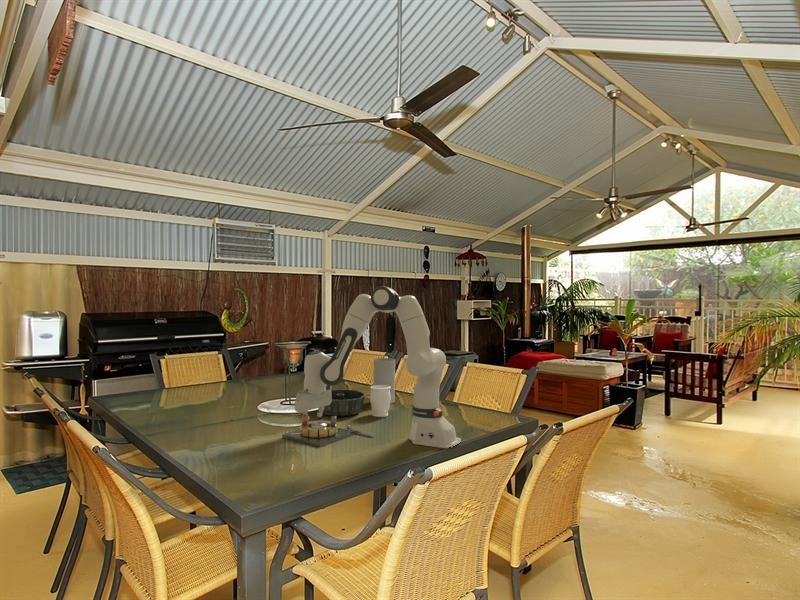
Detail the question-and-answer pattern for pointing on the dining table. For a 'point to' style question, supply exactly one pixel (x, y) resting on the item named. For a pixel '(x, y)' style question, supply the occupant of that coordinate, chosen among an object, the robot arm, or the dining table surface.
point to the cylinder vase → (385, 374)
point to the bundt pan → (345, 403)
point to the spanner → (360, 432)
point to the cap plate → (318, 441)
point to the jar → (380, 400)
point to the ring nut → (318, 432)
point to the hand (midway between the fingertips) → (313, 418)
